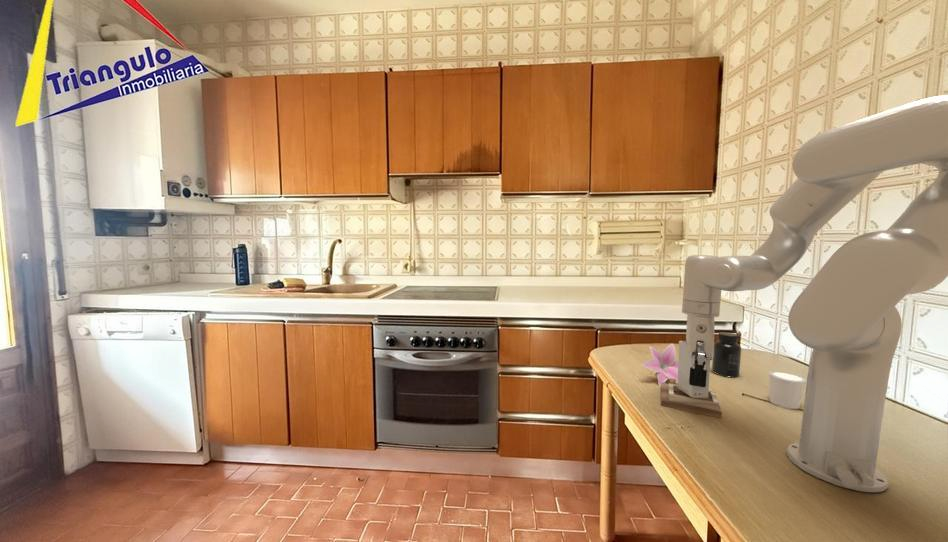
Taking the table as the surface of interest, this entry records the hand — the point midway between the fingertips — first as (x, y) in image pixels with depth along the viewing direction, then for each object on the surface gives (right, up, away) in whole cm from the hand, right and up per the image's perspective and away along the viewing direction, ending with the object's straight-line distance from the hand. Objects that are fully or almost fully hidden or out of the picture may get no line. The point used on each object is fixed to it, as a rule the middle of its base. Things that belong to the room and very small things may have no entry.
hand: (695, 378), depth 88 cm
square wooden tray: (0, -6, +3) cm, 7 cm away
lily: (0, -5, +15) cm, 16 cm away
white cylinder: (+23, -7, +3) cm, 25 cm away
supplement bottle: (+22, -5, +22) cm, 32 cm away
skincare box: (0, -4, +1) cm, 4 cm away
